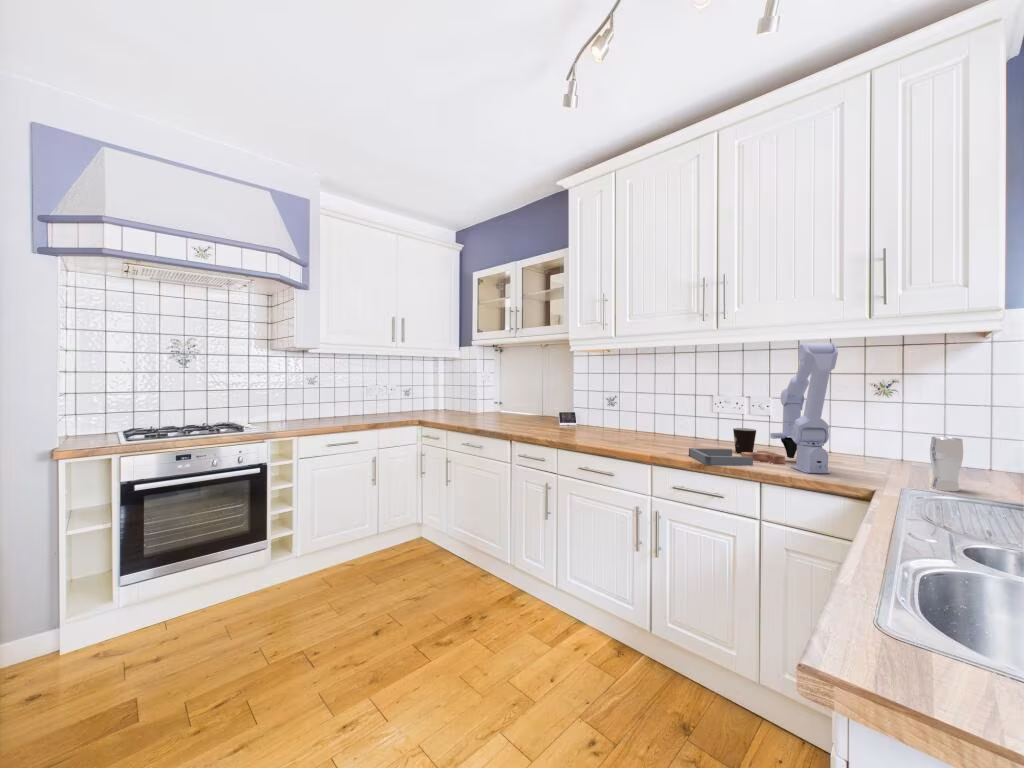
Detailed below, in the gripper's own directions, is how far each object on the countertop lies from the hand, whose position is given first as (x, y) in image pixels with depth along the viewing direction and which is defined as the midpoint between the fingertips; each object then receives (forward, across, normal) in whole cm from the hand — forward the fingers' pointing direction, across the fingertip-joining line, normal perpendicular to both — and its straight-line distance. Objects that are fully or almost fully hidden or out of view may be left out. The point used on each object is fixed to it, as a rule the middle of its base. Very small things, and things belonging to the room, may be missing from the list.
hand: (790, 457), depth 170 cm
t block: (+2, +12, 0) cm, 12 cm away
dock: (+2, +26, 0) cm, 26 cm away
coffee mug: (+2, +8, -18) cm, 20 cm away
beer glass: (+2, -22, +38) cm, 44 cm away
